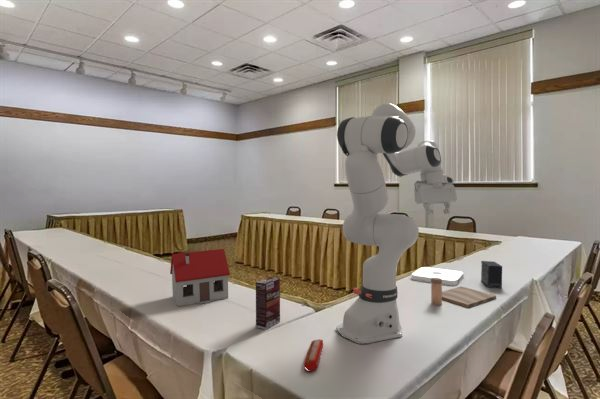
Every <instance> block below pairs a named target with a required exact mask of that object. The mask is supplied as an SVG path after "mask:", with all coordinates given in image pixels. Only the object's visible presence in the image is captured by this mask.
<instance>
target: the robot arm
mask: <svg viewBox="0 0 600 399" xmlns="http://www.w3.org/2000/svg"><path fill="white" fill-rule="evenodd" d="M414 124H415V123H414V122H413V121H412V119H411V118H410V117H409V116H408V114H406V113H405V112H404V111H403V110H402V109H401V108H400V107H398V106H397V105H395V104H392V103H389V102H386V103H381V104H380V105H378V106H377V107H376V108H374V109H373V111H372V113H371V115H367V116H366V115H364V116H358V117H355V116H352V117H349V118H346V119H343V120H342V121H340V123H339V125H338V128H337V130H336V138H337V142H338V145H339V147H340V149H341V151H342V153H343V154H344V155H345V156H346V158H345V164H344V166H345V167H344V168H345V176H346V181H347V185H348V188H349V192H350V195H351V199H352V206H353V209H352V211H351V213H350V214H348V215H347V216H346V217H345V219H344V221H343V223H342V233H343V236H344V238H345V240H346V241H348V242H351V243H354V244H357V245H361V246H362V245H363V246H375V247H378V253H377V254H373V255H372V256H371V257H368V258H367V259H366V260H365V261H364V262H363V264H362V284H361V286H360V287H361V288H359V287H354V288H353V292H352V293H353V294H355V295H358V298H357V299H356V300H355V301H354V302H353V303H352V304H350V306H349V307H348V309H346V311H345V312H344V313H343V314H344V315H343V318H342V319H343V320H342V321H343V322H342V323H341V324H338V325H336V329H337V330H336V332H337V331H338V332H339V333H340V334H341V335H343V336H344V338H345V337H346V338H348V339H350V340H349V341H351V340H352V341H351V342H353V341H354V342H353V343H356V342H357V343H356V344H360V343H367V344H371V343H377V342H381V341H386V340H391V339H396V338H400V337H402V336H403V334H402V333H403V332H402V326H401V322H400V317H399V316H400V315H399V308H398V303H397V299H398V294H399V292H398V287H397V271H398V270H397V268H398V264H399V261H400V259H401V257H402V255H403V254H404V253H405V251H406V250H408V249H409V248H411V247H412V246H413V245H414V244H415V243H416V242H417V240H418V238H419V234H420V232H419V231H420V230H419V225H418V224H417V222H416V220H415V219H414V218H413V217H412V216H411V217H410V216H407V215H403V214H398V213H397V214H394V213H380V212H381V211H383V209H384V208H386V207H387V204H388V203H389V193H388V191H387V190H388V189H387V185H386V180H385V176H384V173H383V171H382V167H381V165H380V162H379V160H378V154H382V155H383V157H384V159H385V160H386V161H387V163H388V165H389V167H390V170H391V172H392V174H394V175H396V176H398V177H400V178H402V177H405V176H408V175H411V174H415V173H419V172H420V174H419V175H420V180H416V181H415V182H414V186H413V187H414V191H413V192H414V201H415V203H416V204H417V205H422V206H423V208H424V210H425V211H426V214H427V216H431V215H434V211H433V209H431V207H430V206H431V205H432V204H433V205H434V204H443V206H444V209H443V215H448V214H451V213H450V209H451V206H452V205H451V204H452V203H456V202H457V192H456V187H455V185H454V184H455V180H454V178H453V177H451V176H448V175H446V174H444V170H443V167H442V158H441V156H442V155H441V152H440V149H439V148H438V145H437V143H436V141H434V140H424V141H421V142H419V143H418V144H417V145H416V146H415V147H413V148H409V146H411V144H412V143H413V141H414V139H415V137H416V134H417V133H416V130H417V129H416V127H415V125H414ZM407 148H409V149H407ZM338 332H337V333H338ZM339 333H338V334H339ZM340 334H339V335H340ZM341 335H340V336H341ZM343 336H342V337H343ZM346 338H345V339H346ZM348 339H347V340H348Z"/></svg>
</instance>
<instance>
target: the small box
mask: <svg viewBox="0 0 600 399" xmlns="http://www.w3.org/2000/svg"><path fill="white" fill-rule="evenodd" d="M480 271H481V272H480V275H481V277H480V281H481V283H482V284H483V283H484V284H483V285H485V286H486V287H487V288H498V289H499V288H500V289H502V287H503V286H502V285H503V265H500V264H499V263H497V262H496V261H488V260H481V270H480Z"/></svg>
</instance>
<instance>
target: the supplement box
mask: <svg viewBox="0 0 600 399" xmlns="http://www.w3.org/2000/svg"><path fill="white" fill-rule="evenodd" d="M280 279H281V278H278V277H273V276H270V277H267V278H265V279H262V280H260V281H259V280H258V281H256V282H255V327H256V328H258V329H260V328H261V330H264V329H265V331H267V330H268V329H270V328H272V327H273V326H275V325H277V324H278V322H279V323H280V322H281V283H280V282H281V280H280ZM276 323H277V324H276ZM271 326H272V327H271Z"/></svg>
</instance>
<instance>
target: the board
mask: <svg viewBox="0 0 600 399" xmlns="http://www.w3.org/2000/svg"><path fill="white" fill-rule="evenodd" d="M496 299H497V295H496V294H492V293H488V292H485V291H481V290H476V289H472V288H469V287H467V286H466V287H465V286H457V287H454V288H449V289H446V290H442V301H446V302H448V303H453V304H455V305H459V306H462V307H465V308H472V307H475V306H477V305H481V304H484V303H486V302H489V301H492V300H496Z"/></svg>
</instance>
